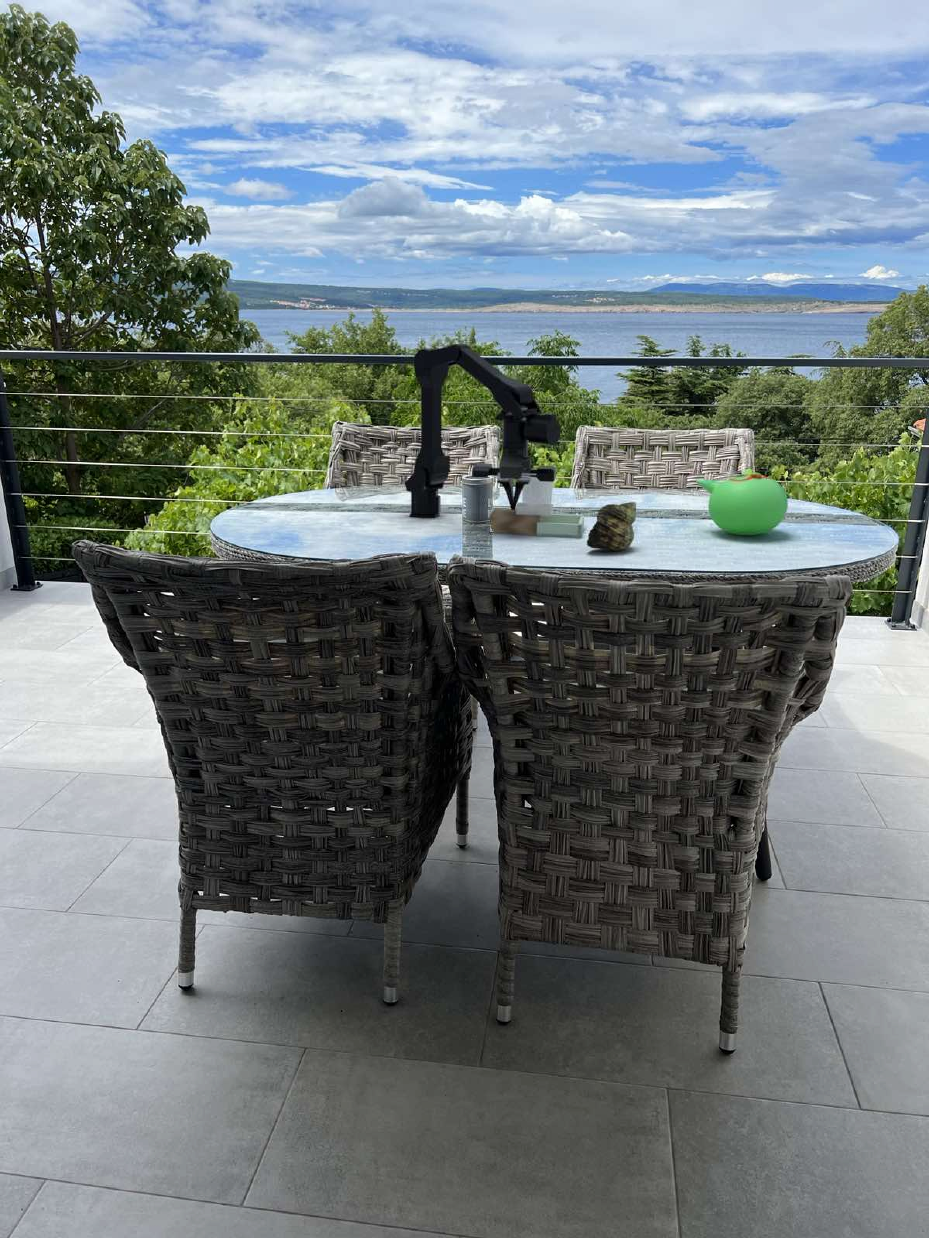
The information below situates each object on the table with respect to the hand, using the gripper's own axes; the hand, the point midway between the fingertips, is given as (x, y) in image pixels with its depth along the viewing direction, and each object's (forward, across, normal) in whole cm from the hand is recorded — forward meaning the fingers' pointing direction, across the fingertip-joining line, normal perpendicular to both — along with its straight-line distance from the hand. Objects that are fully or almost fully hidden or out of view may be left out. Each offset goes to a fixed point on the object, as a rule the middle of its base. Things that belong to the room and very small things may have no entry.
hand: (513, 509), depth 228 cm
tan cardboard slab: (+5, +1, 0) cm, 5 cm away
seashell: (+5, +23, -15) cm, 28 cm away
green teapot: (+5, +53, +7) cm, 53 cm away
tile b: (+1, +7, 0) cm, 7 cm away
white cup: (+5, +4, +19) cm, 20 cm away
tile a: (+1, +3, 0) cm, 3 cm away
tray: (+5, +11, 0) cm, 12 cm away
